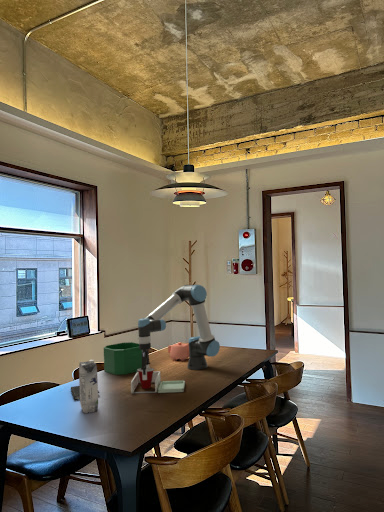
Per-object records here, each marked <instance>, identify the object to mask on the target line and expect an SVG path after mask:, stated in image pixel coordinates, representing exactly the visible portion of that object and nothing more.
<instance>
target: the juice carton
mask: <svg viewBox="0 0 384 512" xmlns="http://www.w3.org/2000/svg"><path fill="white" fill-rule="evenodd" d="M78 365H79V366H78V375H79V376H78V377H79V378H78V380H79V381H78V382H79V383H78V386H80V399H79V403H80V407H81V410H82V413H83V414H89V413H93V412H94V413H95V412H97V411H98V410H99V409H98V408H99V393H98V391H99V386H98V385H99V384H98V383H99V381H98V380H99V379H98V367H97V363H96V362H95V359H89V360H88V361H82V362H79V363H78ZM88 412H89V413H88Z"/></svg>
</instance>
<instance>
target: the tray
mask: <svg viewBox="0 0 384 512" xmlns="http://www.w3.org/2000/svg"><path fill="white" fill-rule="evenodd" d="M185 386H186V381H185V380H165V381H164V380H163V381H161V382H160V385H159V388H158V390H157V393H158V394H159V393H160V394H162V393H163V394H165V393H184V392H185V391H184V390H185Z"/></svg>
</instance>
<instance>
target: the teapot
mask: <svg viewBox="0 0 384 512" xmlns="http://www.w3.org/2000/svg"><path fill="white" fill-rule="evenodd" d="M167 353H169V354H170V359H171V360H174V362H177V361H178V360H180V361H181V362H185V360H187V359H189V343H182V342H181V341H179V342H177V343H173V344H172V345H171V344H170V345H169V344H168V345H167Z"/></svg>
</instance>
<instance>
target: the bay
mask: <svg viewBox="0 0 384 512" xmlns="http://www.w3.org/2000/svg"><path fill="white" fill-rule="evenodd" d="M161 379H162V378H161V371H160V370H159V371H158V370H157V371H153V375H152V382H151V384H152V383H154V389H155V390H154V391H135V390H136V388H137V386H138V385H139V384H141V382H140V377H139V373H138V371H137V372H135V375H134V376H133V378H132V379H131V381H130V391H131V392H130V394H132V395H133V394H152V393H153V394H157V393H158V388H159V385H160V383H161Z"/></svg>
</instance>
